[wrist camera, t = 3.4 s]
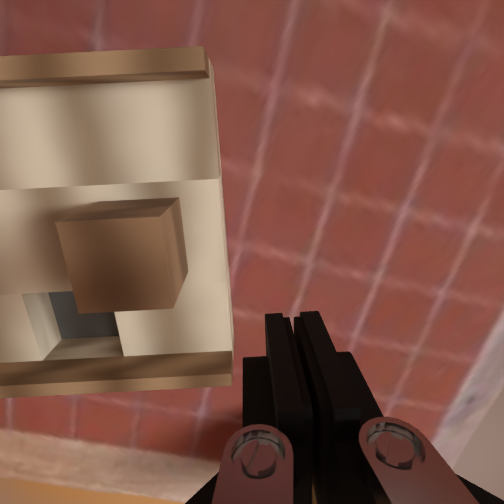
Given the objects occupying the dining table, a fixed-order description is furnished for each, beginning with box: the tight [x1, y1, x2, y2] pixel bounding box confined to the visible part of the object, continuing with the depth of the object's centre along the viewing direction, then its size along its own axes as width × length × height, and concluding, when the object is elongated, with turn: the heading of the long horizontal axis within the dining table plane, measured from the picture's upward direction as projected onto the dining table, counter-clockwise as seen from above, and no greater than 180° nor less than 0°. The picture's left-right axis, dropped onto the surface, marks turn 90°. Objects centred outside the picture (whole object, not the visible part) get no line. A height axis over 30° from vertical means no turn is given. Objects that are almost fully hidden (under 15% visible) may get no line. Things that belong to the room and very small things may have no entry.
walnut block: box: [55, 197, 188, 314], centre depth 19 cm, size 5×5×5 cm
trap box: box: [0, 46, 234, 398], centre depth 22 cm, size 28×20×6 cm
